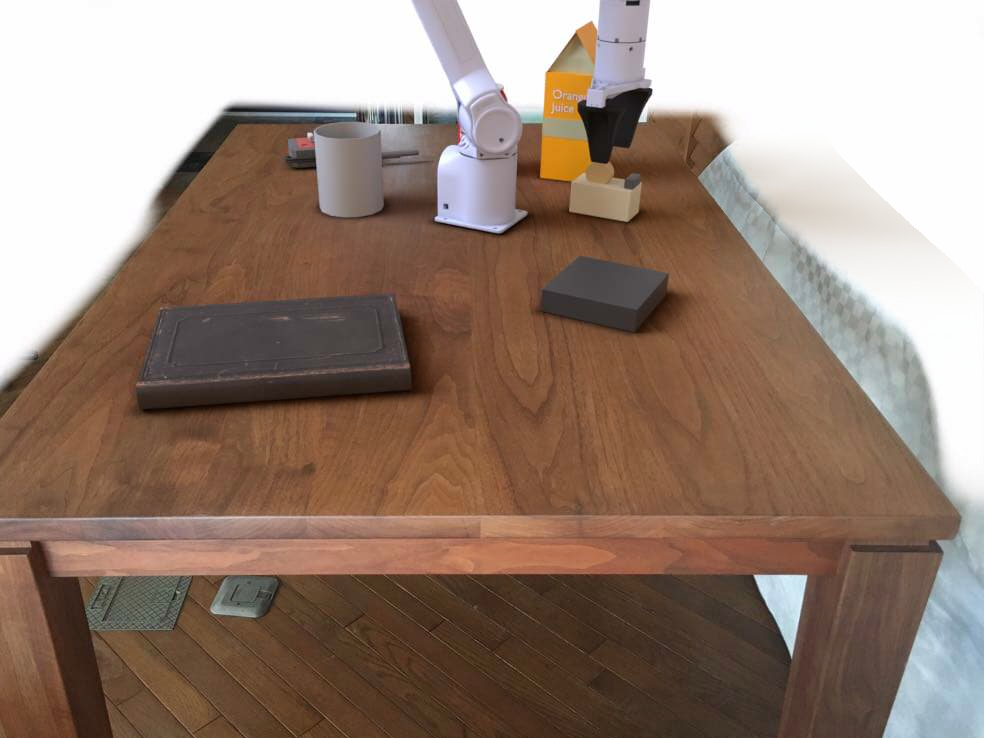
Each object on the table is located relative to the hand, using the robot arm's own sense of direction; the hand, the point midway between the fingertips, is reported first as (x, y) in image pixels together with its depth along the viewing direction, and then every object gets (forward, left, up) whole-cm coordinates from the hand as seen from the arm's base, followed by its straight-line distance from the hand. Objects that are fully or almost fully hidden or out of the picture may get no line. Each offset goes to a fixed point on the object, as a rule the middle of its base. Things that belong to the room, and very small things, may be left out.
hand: (610, 154), depth 113 cm
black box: (+10, -26, -8) cm, 29 cm away
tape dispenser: (0, 0, -8) cm, 8 cm away
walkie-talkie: (-42, +3, -8) cm, 43 cm away
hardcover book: (-12, -52, -8) cm, 54 cm away
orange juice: (-10, +14, -8) cm, 19 cm away
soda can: (-22, +8, -8) cm, 25 cm away
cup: (-30, -14, -8) cm, 34 cm away
